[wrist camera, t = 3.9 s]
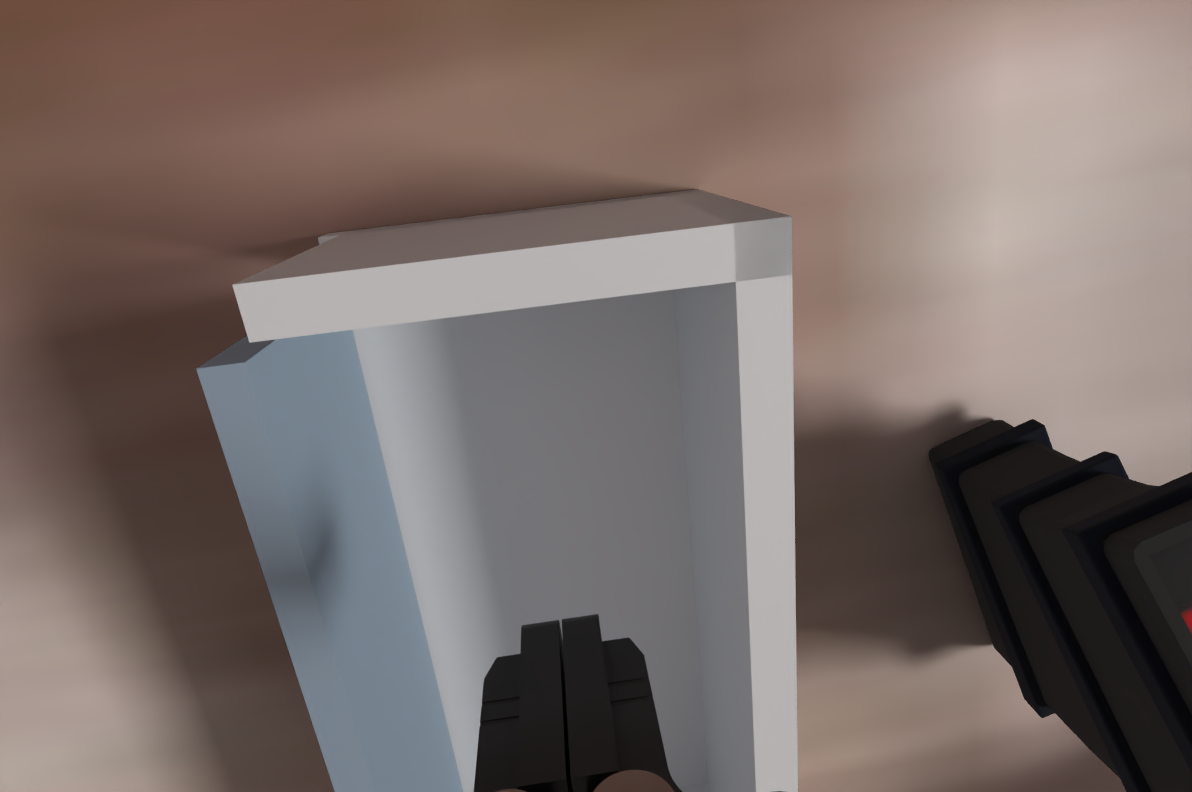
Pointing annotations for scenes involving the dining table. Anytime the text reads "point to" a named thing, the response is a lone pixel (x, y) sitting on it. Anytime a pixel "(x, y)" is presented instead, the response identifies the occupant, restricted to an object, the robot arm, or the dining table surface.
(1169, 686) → the black ridged battery pack
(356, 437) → the door
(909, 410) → the dining table surface
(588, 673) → the robot arm
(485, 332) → the case
